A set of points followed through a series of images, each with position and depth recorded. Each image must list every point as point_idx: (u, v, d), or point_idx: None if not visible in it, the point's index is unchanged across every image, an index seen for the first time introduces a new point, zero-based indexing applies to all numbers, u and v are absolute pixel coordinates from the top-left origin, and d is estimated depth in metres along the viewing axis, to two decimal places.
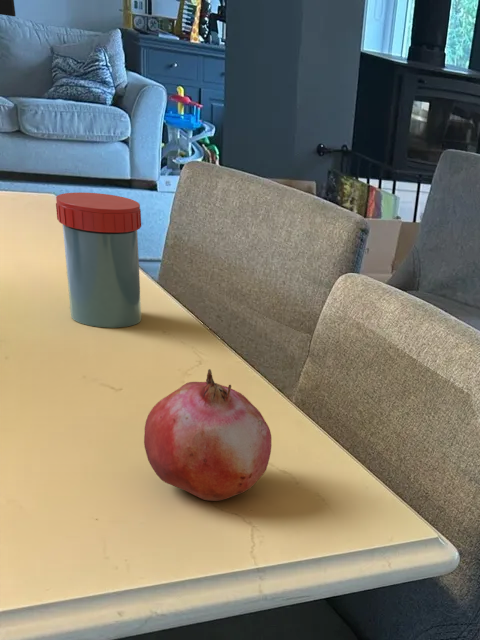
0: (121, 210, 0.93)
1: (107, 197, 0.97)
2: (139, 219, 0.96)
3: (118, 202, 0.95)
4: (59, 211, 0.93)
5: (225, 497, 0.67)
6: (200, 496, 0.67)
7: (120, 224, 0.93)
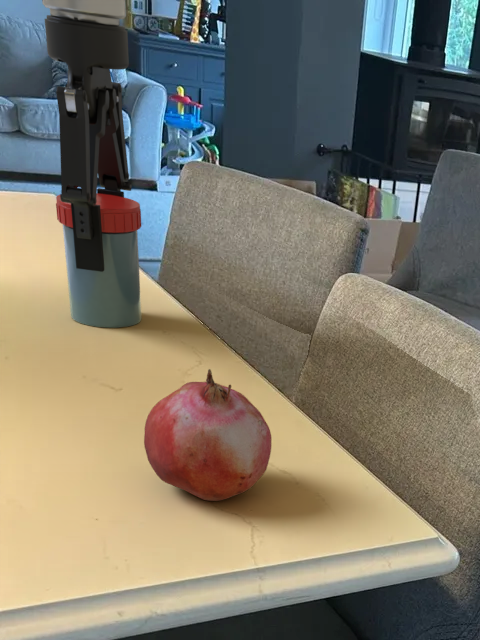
0: (121, 210, 0.93)
1: (107, 197, 0.97)
2: (139, 219, 0.96)
3: (118, 202, 0.95)
4: (59, 211, 0.93)
5: (225, 497, 0.67)
6: (200, 496, 0.67)
7: (120, 224, 0.93)
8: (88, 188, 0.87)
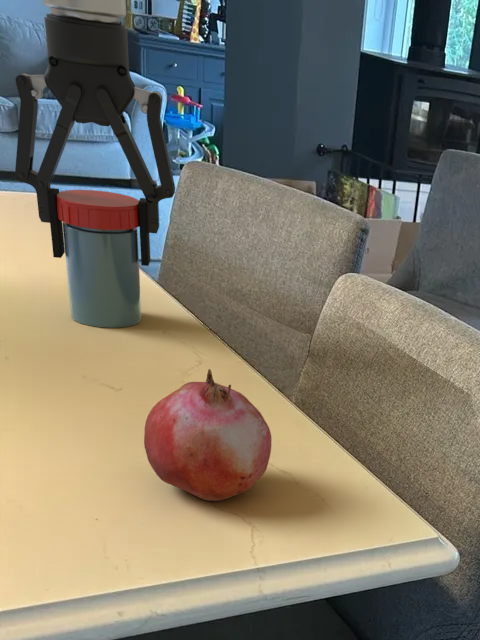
0: None
1: (74, 194, 0.94)
2: None
3: (95, 194, 0.96)
4: (120, 218, 0.93)
5: (225, 497, 0.67)
6: (200, 496, 0.67)
7: None
8: None
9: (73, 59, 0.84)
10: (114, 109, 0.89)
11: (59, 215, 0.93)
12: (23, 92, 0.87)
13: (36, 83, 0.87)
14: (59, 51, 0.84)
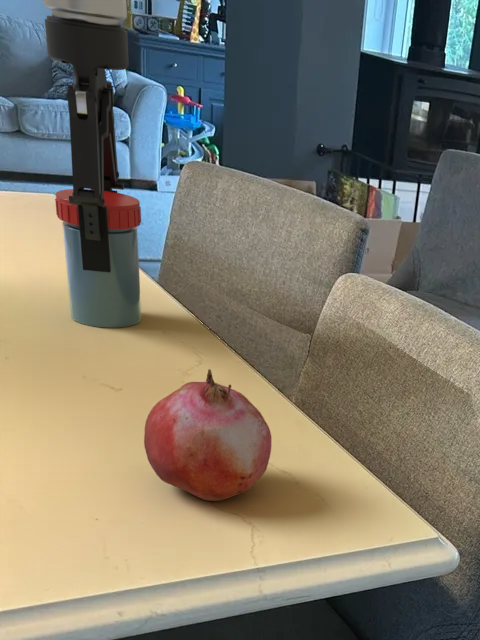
0: None
1: None
2: (57, 206, 0.94)
3: None
4: None
5: (225, 497, 0.67)
6: (200, 496, 0.67)
7: None
8: None
9: (125, 67, 0.88)
10: None
11: (112, 224, 0.93)
12: (95, 109, 0.85)
13: None
14: (118, 61, 0.86)
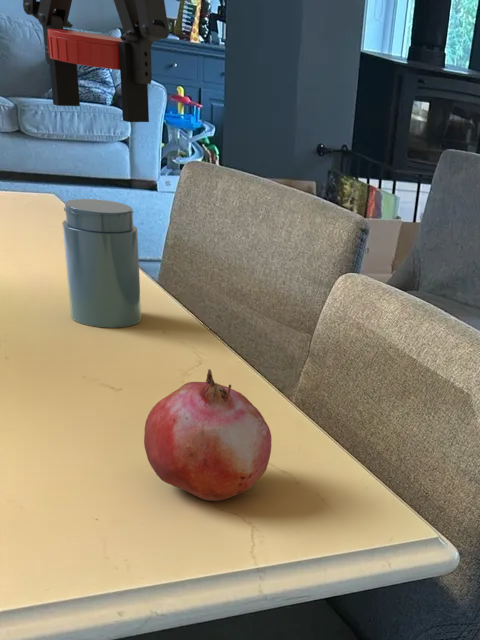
0: None
1: (113, 39, 0.82)
2: (62, 49, 0.81)
3: (84, 35, 0.82)
4: None
5: (225, 497, 0.67)
6: (200, 496, 0.67)
7: None
8: None
9: None
10: None
11: None
12: None
13: None
14: None
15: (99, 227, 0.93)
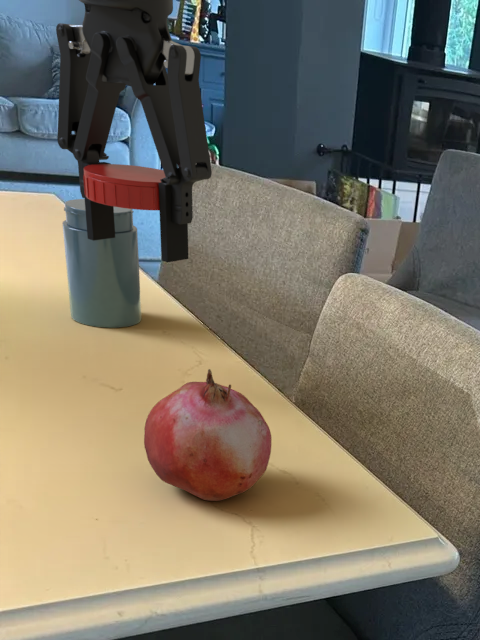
0: None
1: (152, 178, 0.78)
2: (99, 191, 0.76)
3: (122, 174, 0.77)
4: None
5: (225, 497, 0.67)
6: (200, 496, 0.67)
7: None
8: (62, 133, 0.79)
9: None
10: None
11: None
12: None
13: None
14: None
15: None
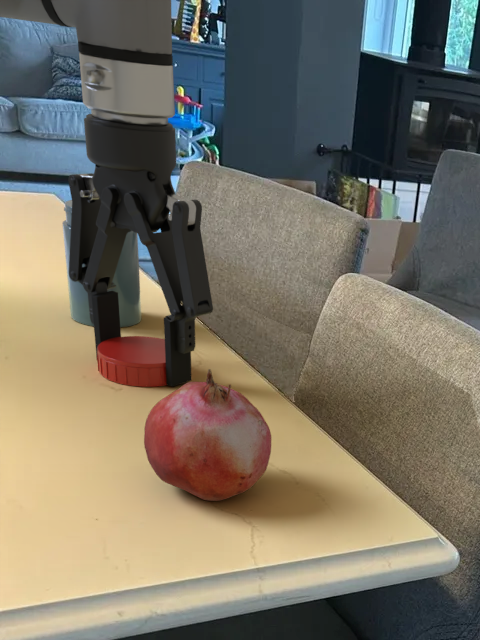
0: (97, 349, 0.86)
1: (159, 356, 0.86)
2: (112, 372, 0.85)
3: (132, 354, 0.86)
4: None
5: (225, 497, 0.67)
6: (200, 496, 0.67)
7: (98, 362, 0.87)
8: (73, 268, 0.85)
9: None
10: None
11: None
12: None
13: None
14: None
15: None
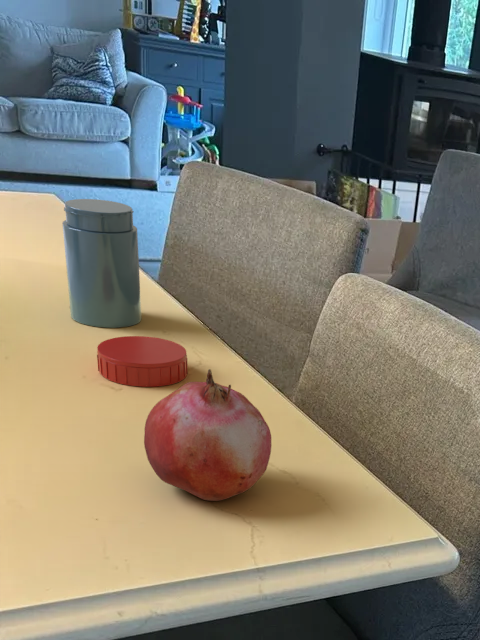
0: (97, 349, 0.86)
1: (159, 356, 0.86)
2: (112, 372, 0.85)
3: (132, 354, 0.86)
4: None
5: (225, 497, 0.67)
6: (200, 496, 0.67)
7: (98, 362, 0.87)
8: None
9: None
10: None
11: (185, 373, 0.89)
12: None
13: None
14: None
15: (99, 227, 0.93)
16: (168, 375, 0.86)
